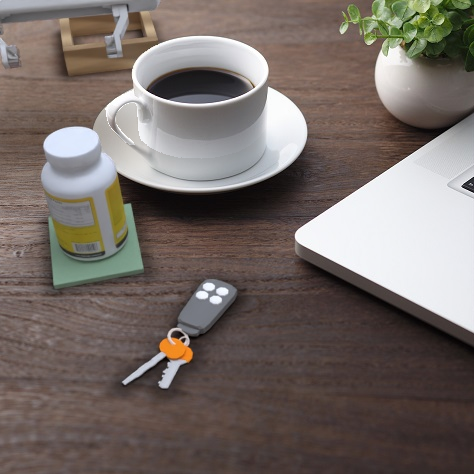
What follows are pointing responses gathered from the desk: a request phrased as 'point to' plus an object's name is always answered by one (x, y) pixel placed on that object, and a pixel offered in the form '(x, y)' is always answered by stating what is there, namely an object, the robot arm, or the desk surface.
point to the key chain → (191, 327)
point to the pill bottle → (83, 195)
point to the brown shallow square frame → (95, 54)
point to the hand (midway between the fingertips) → (64, 61)
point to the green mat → (97, 270)
